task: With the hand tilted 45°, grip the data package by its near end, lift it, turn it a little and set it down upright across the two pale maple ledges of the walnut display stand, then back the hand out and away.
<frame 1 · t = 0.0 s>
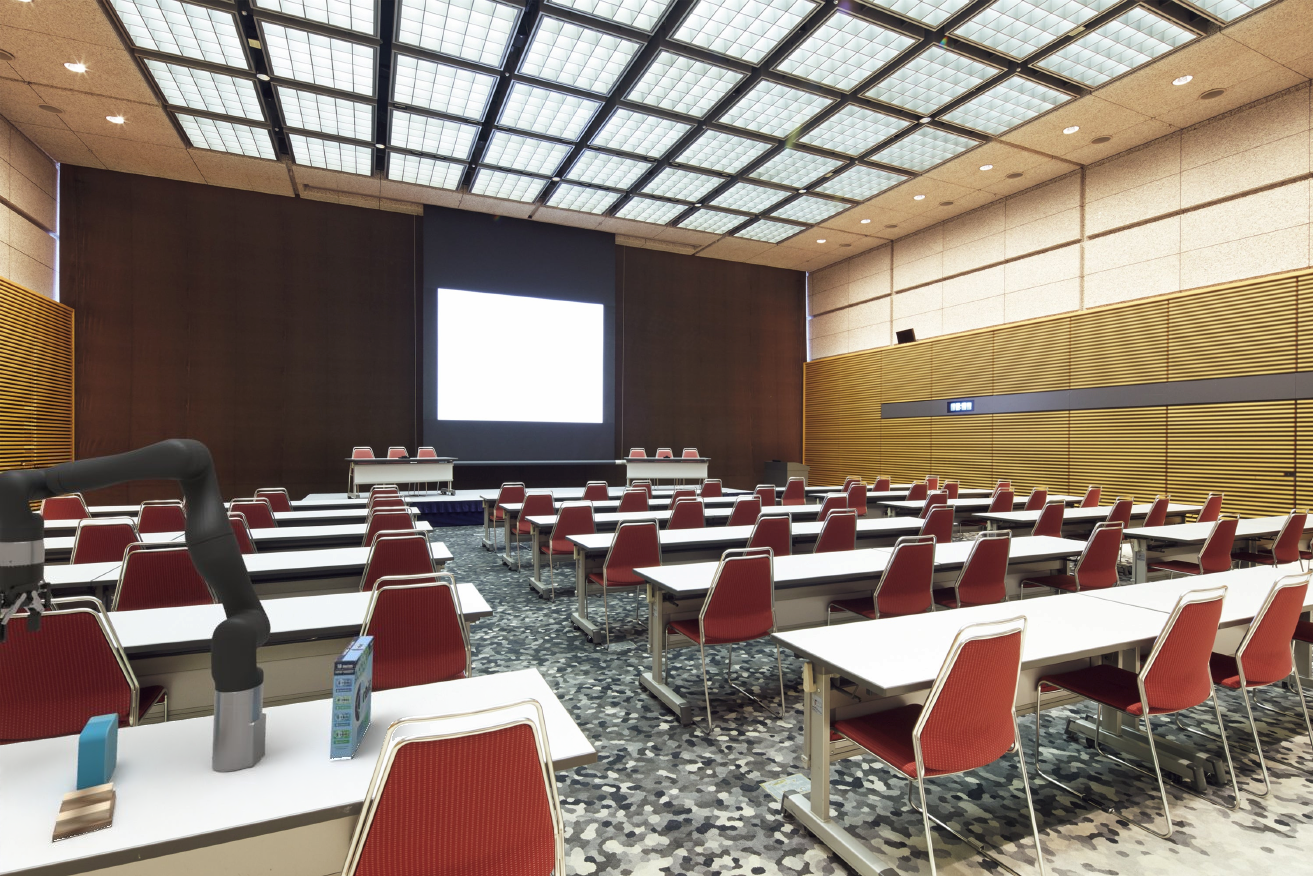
hand: (17, 636, 136), 29 cm above the table, tool pointing down, fingers open, 8 cm apart
blue product box: (351, 742, 153), on the table
display stand: (85, 817, 120), on the table
data package: (97, 780, 134), on the table
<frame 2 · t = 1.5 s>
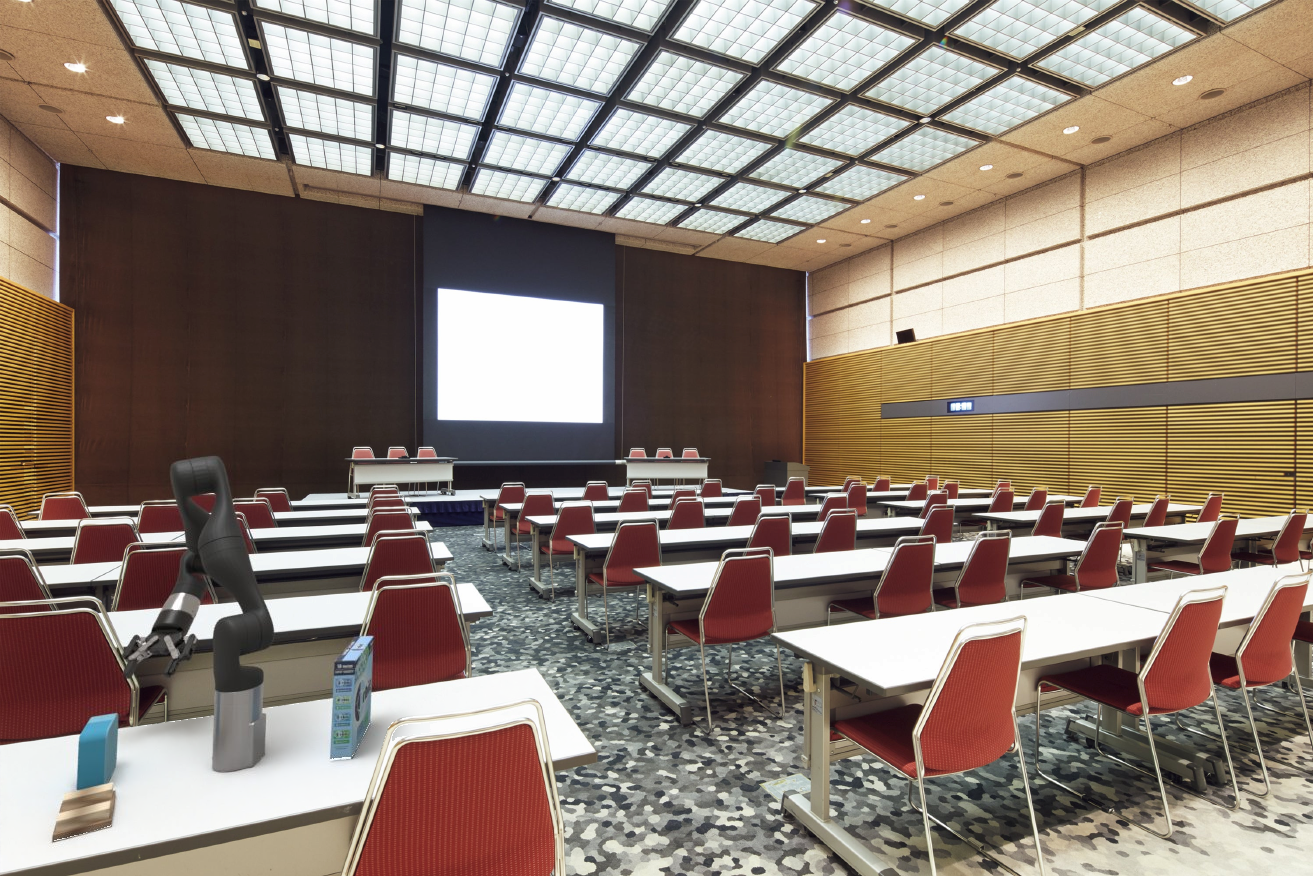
hand: (147, 676, 149), 16 cm above the table, tool tilted 45°, fingers open, 8 cm apart
nothing on the table moved.
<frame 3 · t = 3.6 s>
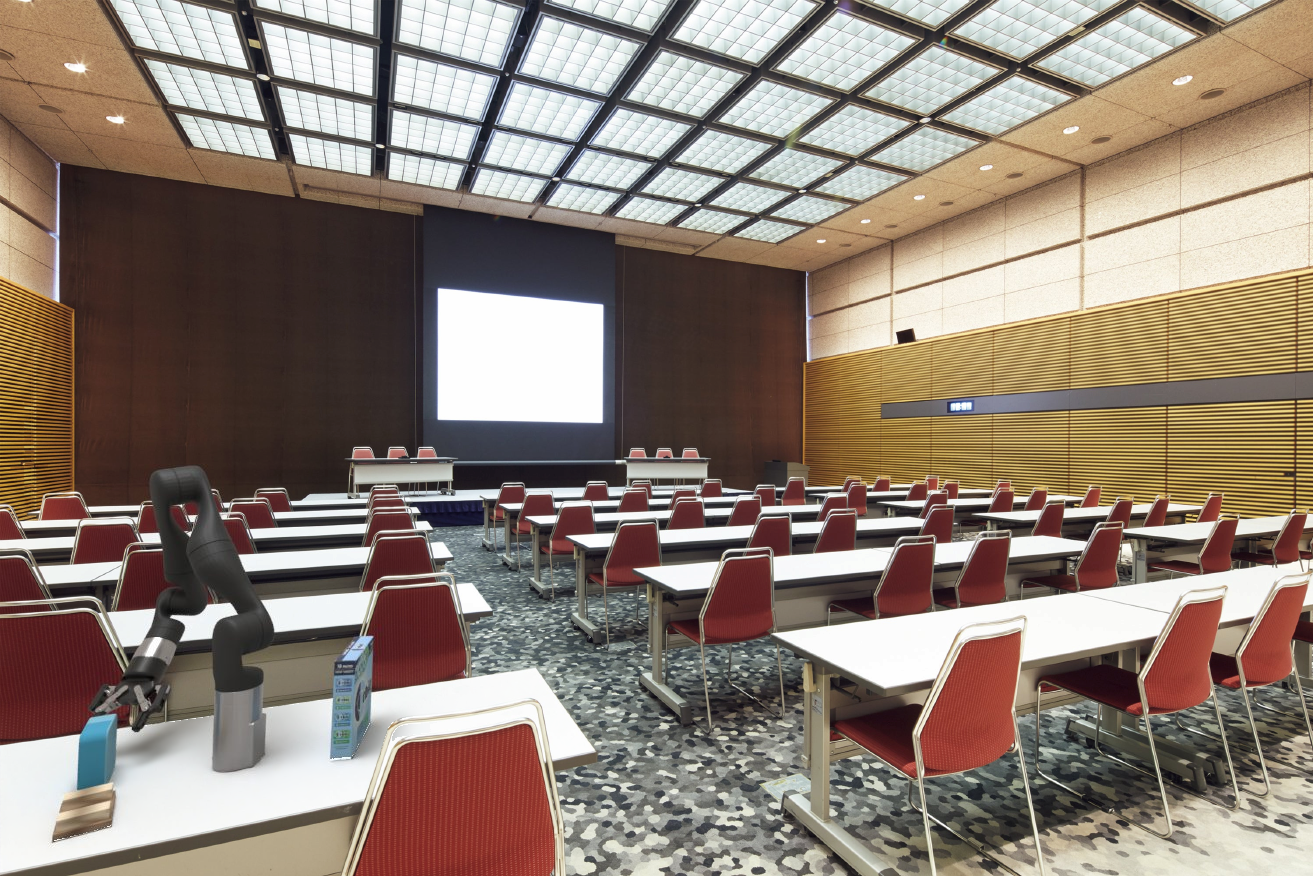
hand: (113, 731, 139), 8 cm above the table, tool tilted 45°, fingers open, 8 cm apart
data package: (96, 781, 133), on the table, touching gripper
everything else where it was.
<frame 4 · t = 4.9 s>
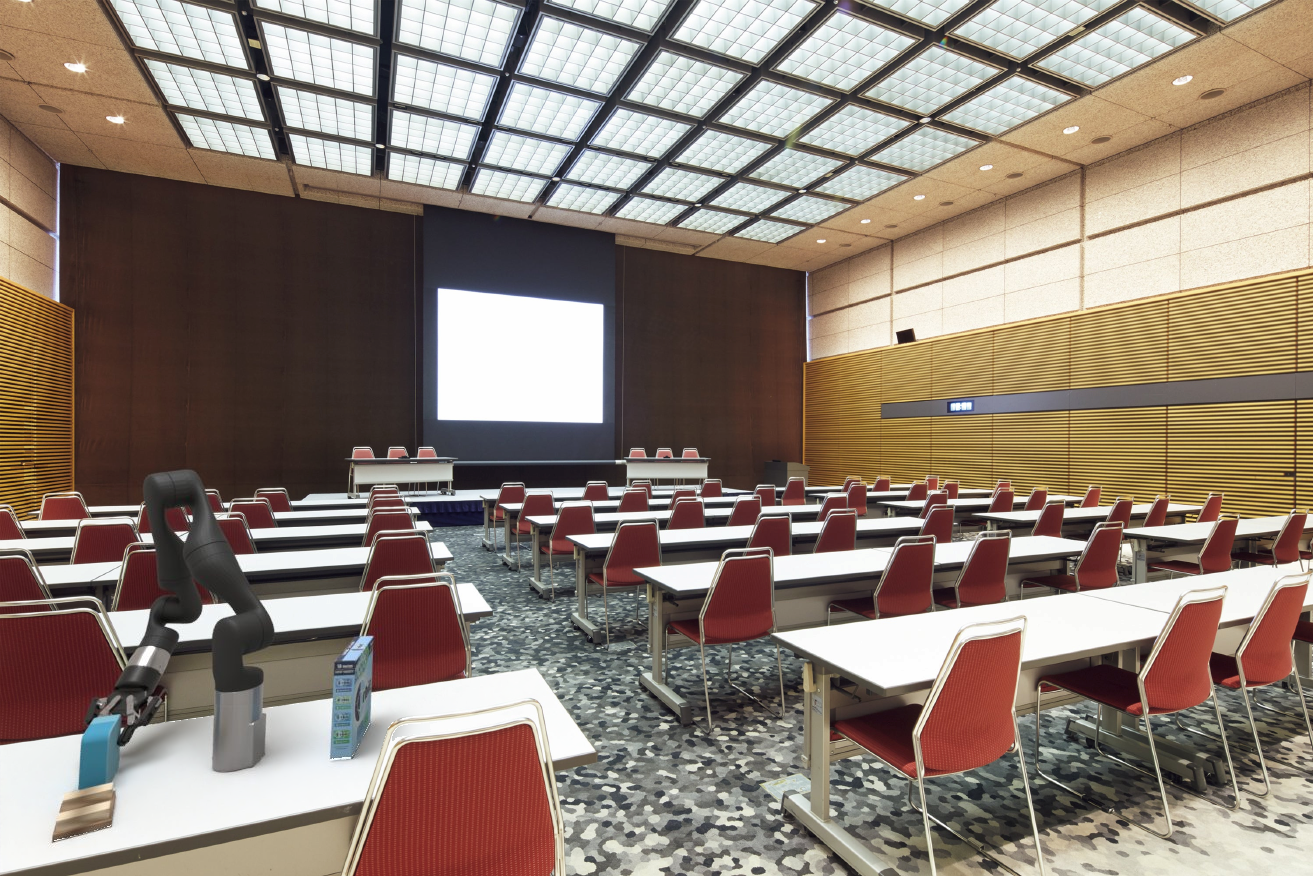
hand: (104, 745, 136), 6 cm above the table, tool tilted 45°, fingers closed on data package, 5 cm apart
data package: (99, 782, 133), on the table, touching gripper
everything else where it was.
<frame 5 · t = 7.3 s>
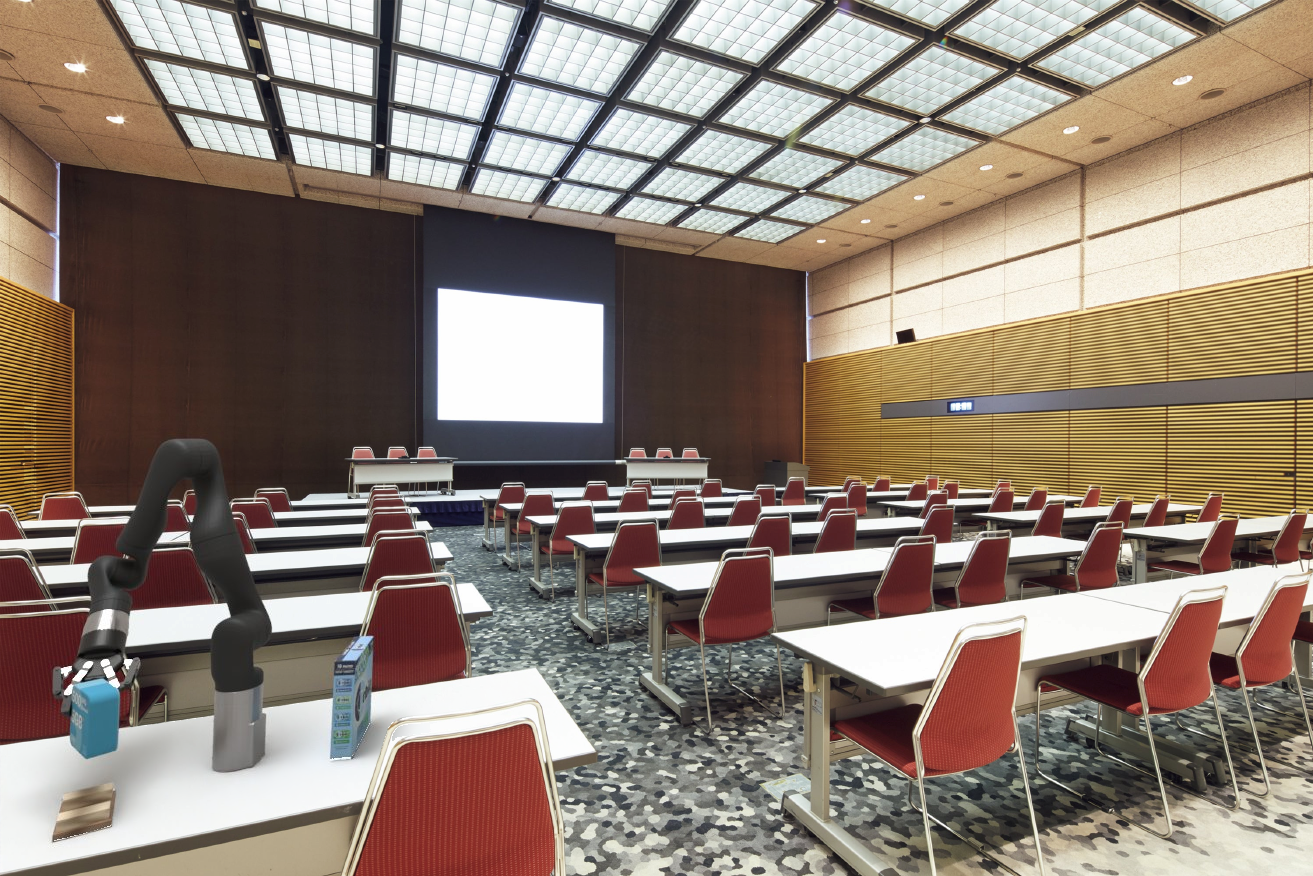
hand: (88, 712, 125), 18 cm above the table, tool tilted 45°, fingers closed on data package, 5 cm apart
data package: (93, 749, 123), point 12 cm above the table, touching gripper
everything else where it was.
when the fingers open (10 cm above the table, at t = 9.9 s): data package drops 1 cm, resting on display stand.
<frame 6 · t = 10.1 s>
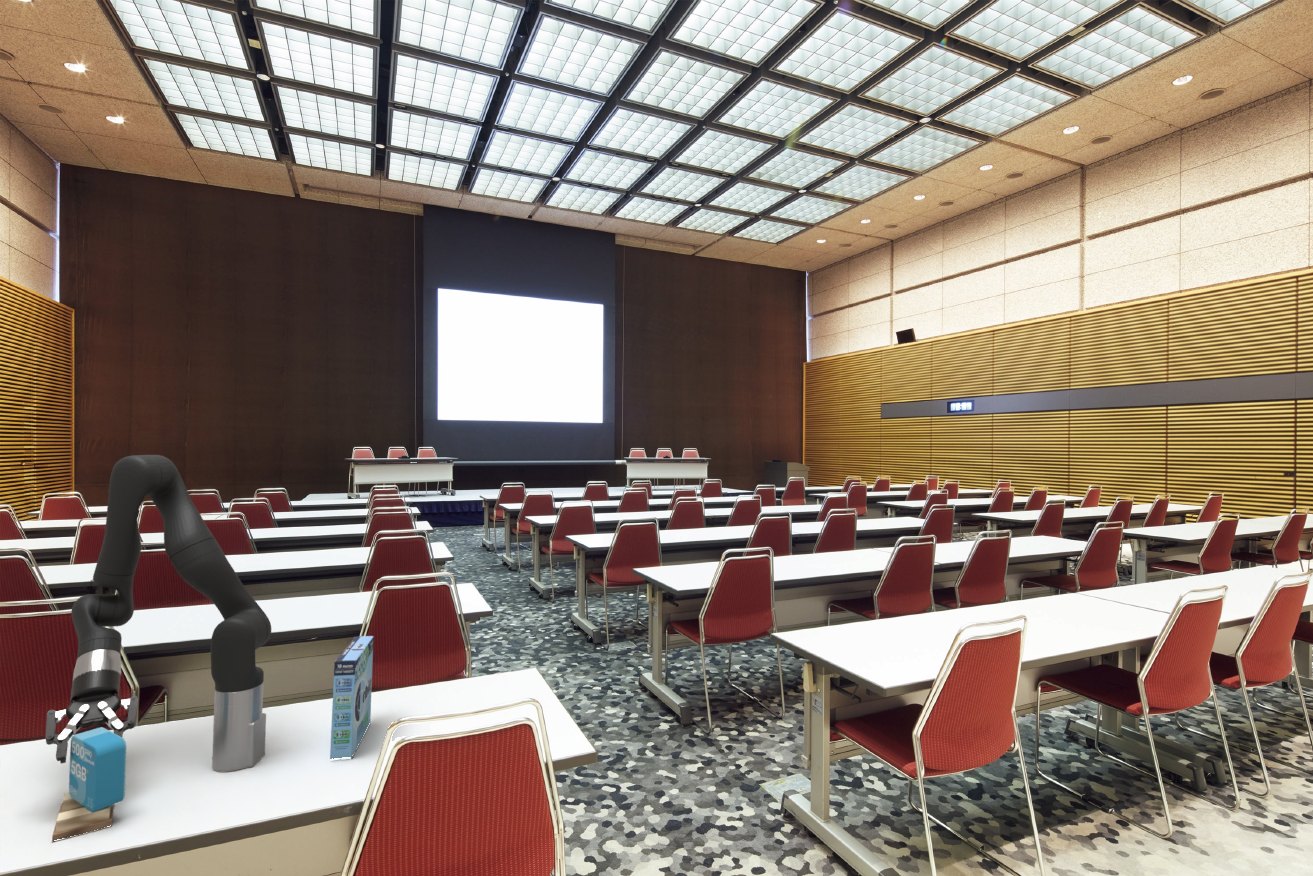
hand: (89, 755, 122), 11 cm above the table, tool tilted 45°, fingers open, 7 cm apart
data package: (96, 800, 120), point 3 cm above the table, touching display stand
everything else where it was.
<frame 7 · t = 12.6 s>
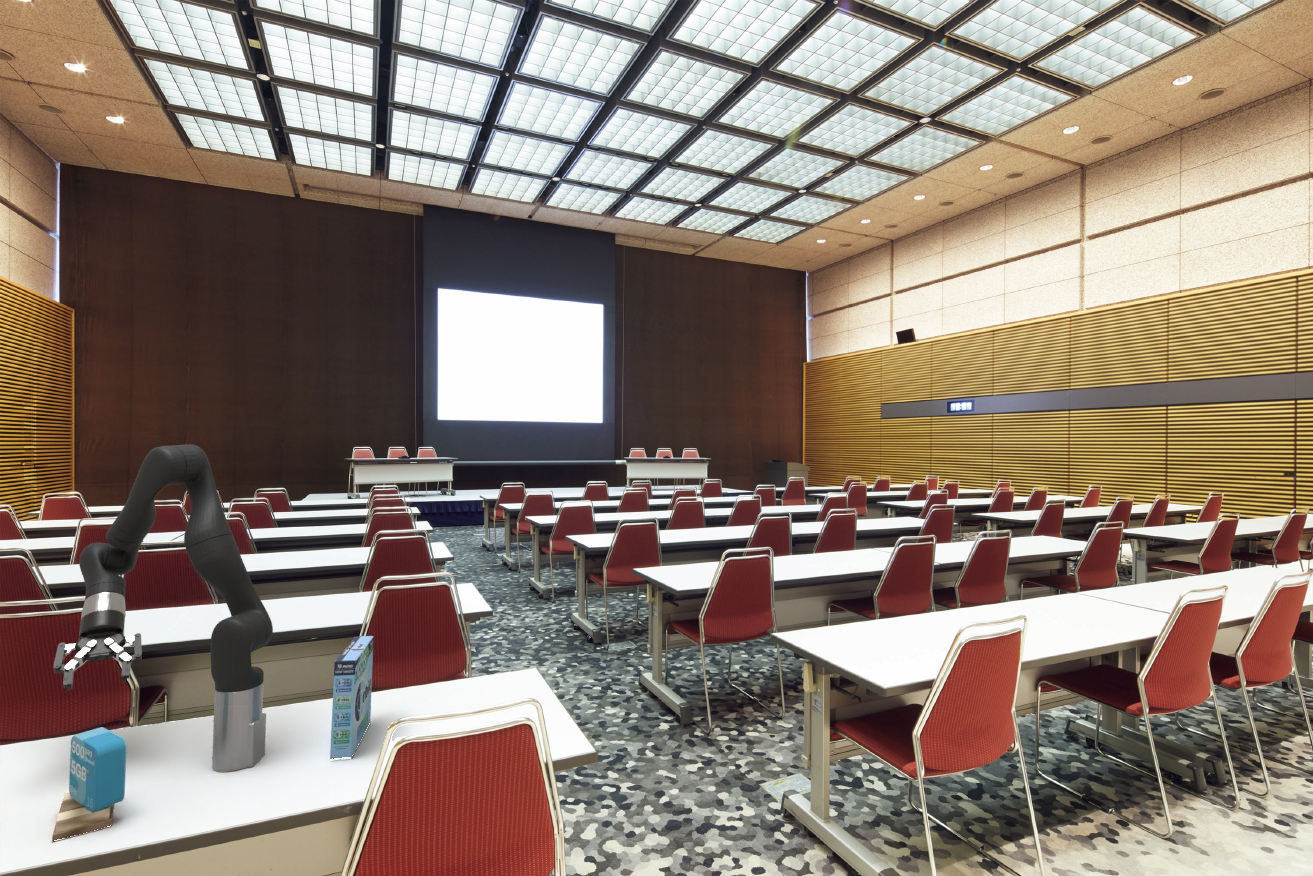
hand: (97, 684, 133), 21 cm above the table, tool tilted 45°, fingers open, 8 cm apart
nothing on the table moved.
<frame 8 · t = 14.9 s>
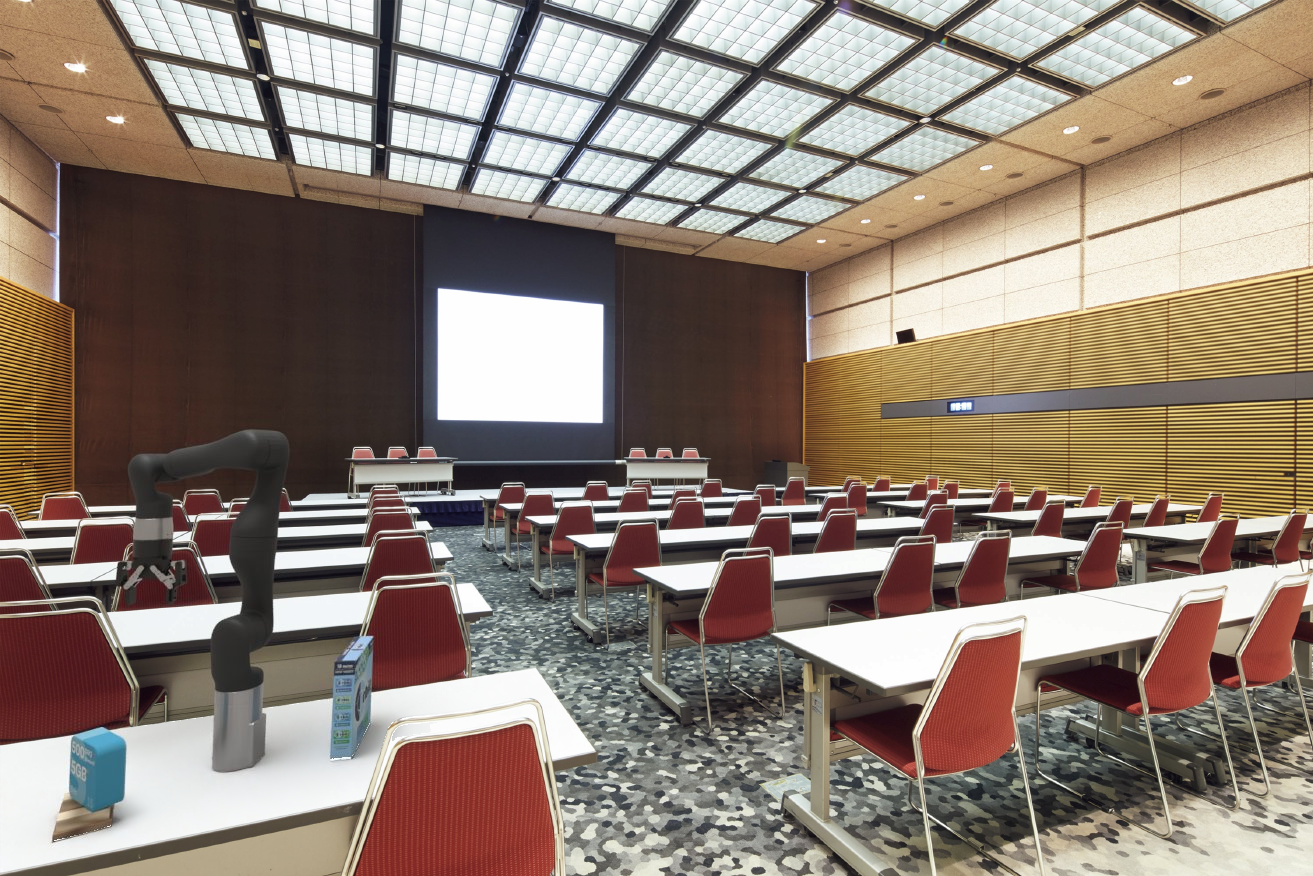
hand: (150, 604, 151), 33 cm above the table, tool pointing down, fingers open, 8 cm apart
nothing on the table moved.
at the end: data package 1.5 cm off-centre on the display stand, point 3.0 cm above the display stand's base; data package tilted 0°; the gripper is holding nothing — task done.
